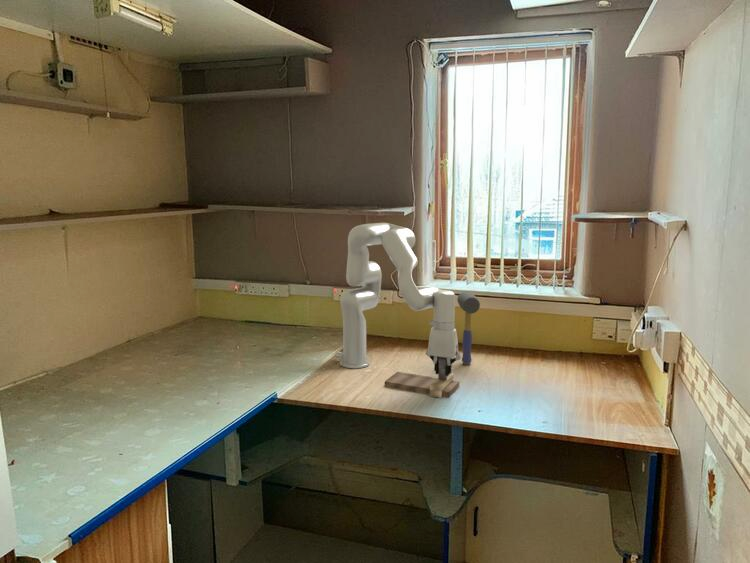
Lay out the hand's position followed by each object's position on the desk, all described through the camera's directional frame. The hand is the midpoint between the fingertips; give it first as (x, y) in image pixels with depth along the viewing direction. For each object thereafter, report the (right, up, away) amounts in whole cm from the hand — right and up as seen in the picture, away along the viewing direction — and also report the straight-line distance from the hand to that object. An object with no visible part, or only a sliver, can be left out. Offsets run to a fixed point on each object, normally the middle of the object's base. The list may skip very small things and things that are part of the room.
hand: (442, 373), depth 208 cm
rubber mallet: (+14, -1, +30) cm, 33 cm away
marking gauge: (0, -6, +1) cm, 6 cm away
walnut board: (-7, -5, +5) cm, 10 cm away
